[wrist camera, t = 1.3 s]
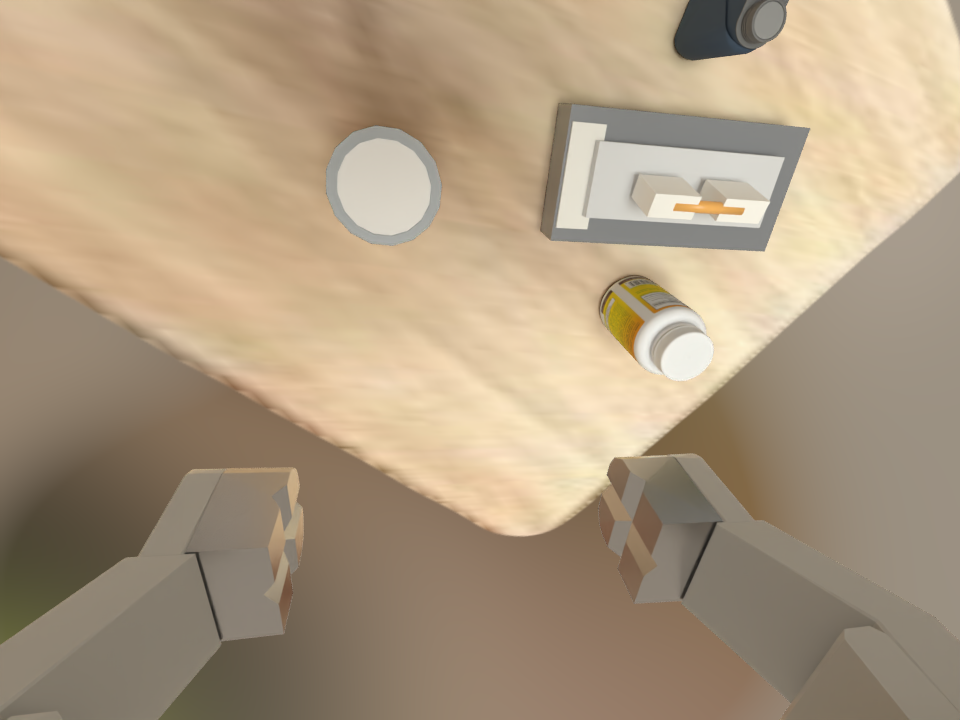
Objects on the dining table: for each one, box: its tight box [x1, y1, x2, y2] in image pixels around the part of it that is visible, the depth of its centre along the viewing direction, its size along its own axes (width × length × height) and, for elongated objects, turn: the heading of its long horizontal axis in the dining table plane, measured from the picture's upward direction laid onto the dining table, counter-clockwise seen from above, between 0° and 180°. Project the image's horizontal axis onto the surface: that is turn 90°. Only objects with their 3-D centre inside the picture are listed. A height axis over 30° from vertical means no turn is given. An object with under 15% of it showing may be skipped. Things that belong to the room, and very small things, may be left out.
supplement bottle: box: [600, 276, 714, 381], centre depth 38 cm, size 6×6×10 cm
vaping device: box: [675, 0, 789, 60], centre depth 27 cm, size 3×5×12 cm, turn 162°
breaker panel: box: [541, 104, 810, 251], centre depth 36 cm, size 9×18×4 cm, turn 85°
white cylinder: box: [326, 125, 442, 246], centre depth 31 cm, size 7×7×7 cm
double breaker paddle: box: [631, 174, 770, 224], centre depth 32 cm, size 2×8×3 cm, turn 85°
